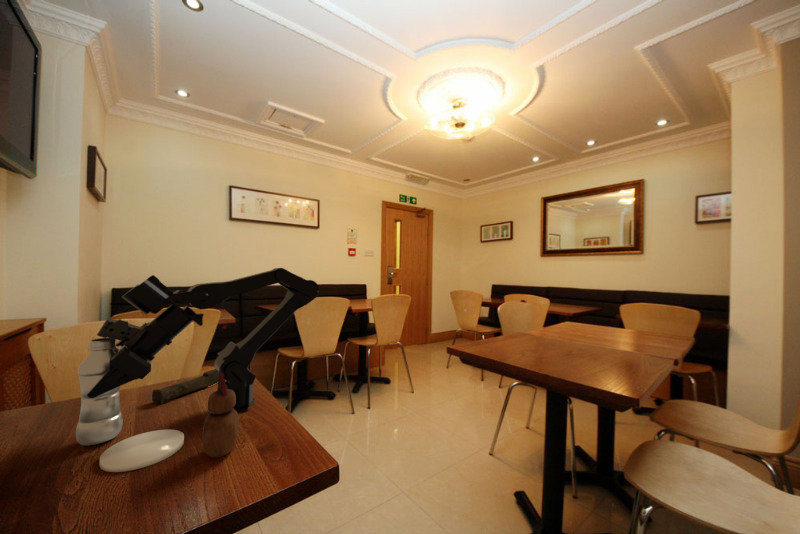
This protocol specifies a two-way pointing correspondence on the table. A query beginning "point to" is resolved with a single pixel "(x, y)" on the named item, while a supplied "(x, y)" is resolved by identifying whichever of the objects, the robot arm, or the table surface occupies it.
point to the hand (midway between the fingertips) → (91, 391)
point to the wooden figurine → (221, 421)
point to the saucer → (141, 450)
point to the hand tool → (184, 387)
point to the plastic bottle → (98, 397)
